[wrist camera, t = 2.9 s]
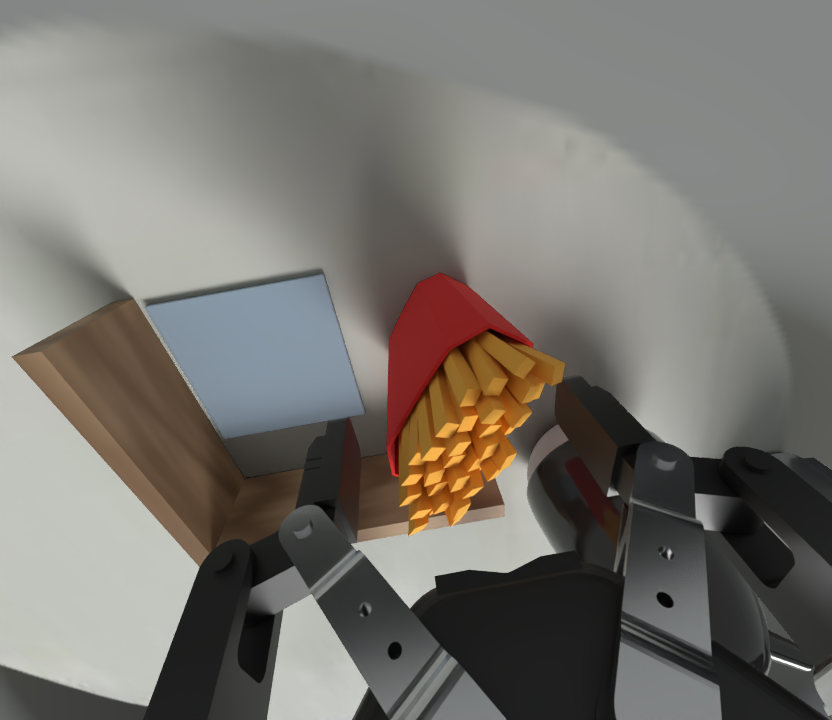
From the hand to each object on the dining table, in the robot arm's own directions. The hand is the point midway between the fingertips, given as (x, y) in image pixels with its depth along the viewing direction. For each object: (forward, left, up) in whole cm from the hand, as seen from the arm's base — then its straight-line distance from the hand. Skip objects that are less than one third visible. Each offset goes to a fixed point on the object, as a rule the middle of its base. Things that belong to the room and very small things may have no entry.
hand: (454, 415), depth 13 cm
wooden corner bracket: (+7, +4, -9) cm, 12 cm away
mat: (+10, +1, -9) cm, 14 cm away
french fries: (0, 0, -9) cm, 9 cm away
